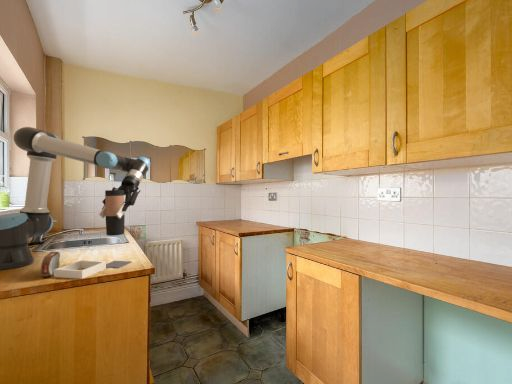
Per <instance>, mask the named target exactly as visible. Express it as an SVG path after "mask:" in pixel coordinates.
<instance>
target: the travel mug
mask: <svg viewBox="0 0 512 384" xmlns="http://www.w3.org/2000/svg"><path fill="white" fill-rule="evenodd" d="M104 199H105V217H104V218H105V228H106V229H105V232H106V236H110V237H113V236H121V235H124V234H125V221H126V220H125V219H126V218H125V214H126V213H125V212H126V211H124V213H123V215H122V216H121V218H118V217H117V215H116V213H117V212H118V210H119V208H120V207H121V205H122V204H123V203H124V202H125V195H124V190H112V189H111V190H109V189H108V190H105V191H104ZM124 204H125V203H124Z"/></svg>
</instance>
